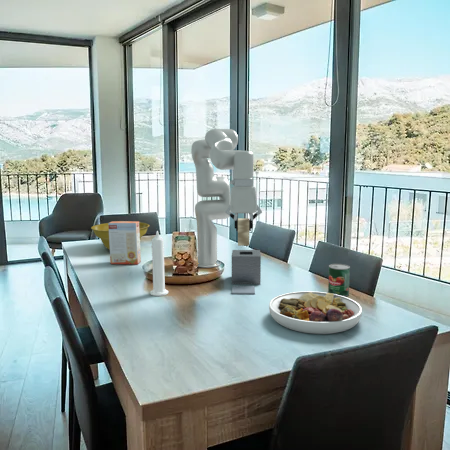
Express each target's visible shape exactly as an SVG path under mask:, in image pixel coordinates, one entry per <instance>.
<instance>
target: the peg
mask: <svg viewBox="0 0 450 450" xmlns="http://www.w3.org/2000/svg"><path fill="white" fill-rule="evenodd" d="M237 218H238V231H237V246H238V247H241V246H242V247H245V246H246V247H247V246H248V247H249V246H250V231H249V220H250V217H249V218H244V217H243V218H241V217H240V218H239V217H237Z"/></svg>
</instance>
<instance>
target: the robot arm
mask: <svg viewBox="0 0 450 450" xmlns="http://www.w3.org/2000/svg"><path fill="white" fill-rule="evenodd" d="M238 143H239V135H238V134H237V132H236V131H235V130H234V129H232V128H213V129H210V130H208V131H207V132H206V133H205V135H204V139H198V140H195V141H193V143H192V144H191V152H190V153H191V154H190V155H191V157H192V158H191V159H192V161H193V163H194V167H195V178H196V179H195V180H196V190H197V195H198V196H199V197H200V198H219V199H204V200H199V201H197V203H196V204H195V206H194V213H195V219H196V231H197V232H196V235H197V243H196V244H197V254H198V263H199V264H198V266H197V267H198V268H205V269H206V268H207V269H208V268H217V267H219V266H220V265H221V263H220V264H218V265H216V264H215V263H216V261H217V260H218V231H217V230H218V229H217V226H216V225H215V224H214V222H213V221H214V220H215V221H216V220H225V219H228V218H229V217H230V218H231V219H232V220H233V221H234V230H235V229H236V230H235V231H236V232H238V218H239V214H249V232H252V229H253V228H254V224H253V223H254V220H255V219H256V218H257V217H258V216H259V215H261V214H262V213H263V211H262V209H261V208H260V206H259V204H258V202H257V201H258V200H257V199H258V198H257V189H256V186H254V153H253V152H252V151H250V150H240V149H239V150H236V148H237V145H239V144H238ZM209 159H210V160H209ZM214 167H215V168H216V169H218V170H221V171H224V170H225V171H226V170H227V171H229V170H233V179H232V180H230V181H229V179H227V177H224V176H215V172H214V171H215V169H214ZM231 185H233V186H231Z"/></svg>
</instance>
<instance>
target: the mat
mask: <svg viewBox="0 0 450 450" xmlns="http://www.w3.org/2000/svg"><path fill="white" fill-rule="evenodd" d="M231 288H232V289H231V295H256V288H255V285H232V287H231Z"/></svg>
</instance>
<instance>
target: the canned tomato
mask: <svg viewBox="0 0 450 450" xmlns="http://www.w3.org/2000/svg"><path fill="white" fill-rule="evenodd" d="M350 269H351V266H350V265H348V264H345V263H344V264H343V263H332V264H329V265H328V288H327V289H328V292H327V293H333V294H337V295H341V296H344V297H348V296H349V295H350V271H351V270H350Z"/></svg>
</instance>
